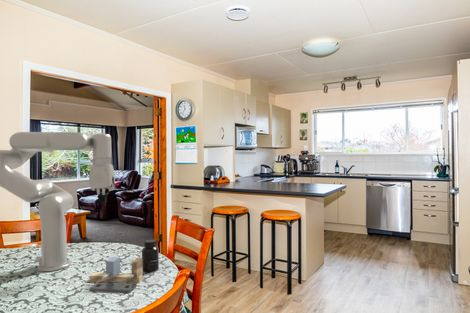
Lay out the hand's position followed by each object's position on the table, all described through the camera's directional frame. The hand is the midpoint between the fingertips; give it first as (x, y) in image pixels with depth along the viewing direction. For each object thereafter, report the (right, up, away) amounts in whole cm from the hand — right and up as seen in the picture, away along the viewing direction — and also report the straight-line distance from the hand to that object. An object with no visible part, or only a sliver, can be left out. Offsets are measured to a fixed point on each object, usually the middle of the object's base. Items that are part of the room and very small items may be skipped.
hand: (102, 203), depth 139 cm
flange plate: (+15, -27, -26) cm, 40 cm away
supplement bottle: (+23, -27, -8) cm, 36 cm away
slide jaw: (+11, -24, -21) cm, 34 cm away
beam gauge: (+13, -27, -21) cm, 36 cm away
